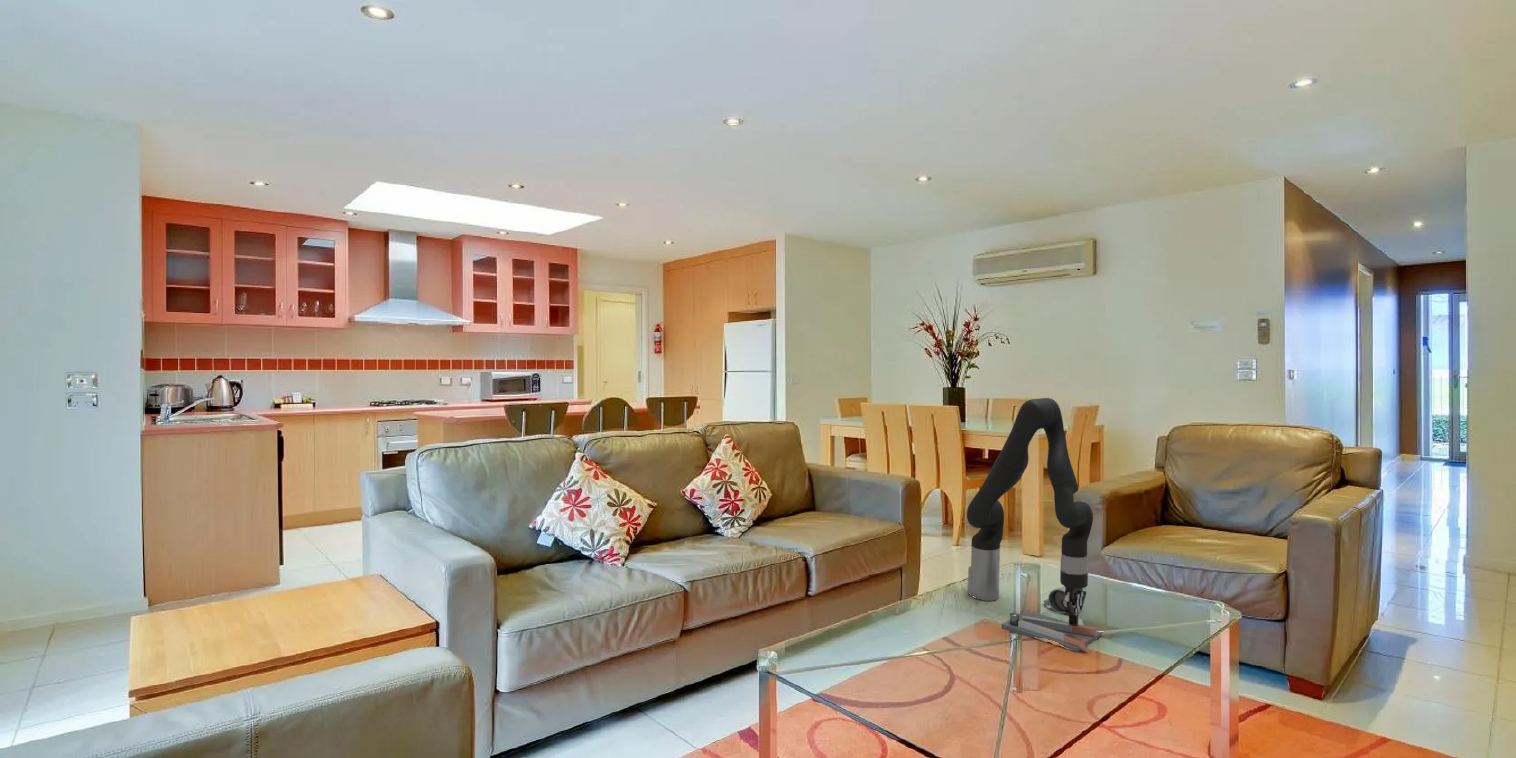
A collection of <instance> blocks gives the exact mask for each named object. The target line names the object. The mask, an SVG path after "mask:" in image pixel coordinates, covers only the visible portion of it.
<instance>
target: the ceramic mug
mask: <svg viewBox="0 0 1516 758" xmlns="http://www.w3.org/2000/svg"><path fill="white" fill-rule="evenodd" d="M1065 589H1066V587H1065V586H1062V587H1058V588H1055V589H1053V590H1051V591H1050V593H1049V594H1048V598H1047V599H1044V600H1043V604H1044V606H1047V607H1048V606H1050V608H1051V609H1052V610H1053V611H1055V612H1056V613H1058V614H1066V613H1065V611H1064V609H1063V607H1062V604H1061V600H1062V599H1063V600H1064V599H1065Z"/></svg>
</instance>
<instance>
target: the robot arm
mask: <svg viewBox="0 0 1516 758" xmlns="http://www.w3.org/2000/svg"><path fill="white" fill-rule="evenodd" d="M1064 427H1065V426H1064V421H1063V415H1062V411H1061V408H1060V405H1059V404H1058V402H1057V401H1055V400H1054V399H1053V398H1049V397H1045V398H1044V397H1043V398H1042V397H1041V398H1031V399H1028V400H1025V402H1024V403H1022V405H1021V406H1020V408H1019V410H1018V412H1017V414H1016V417H1015V420H1014V423H1013V426H1012V428H1011V431H1010V432H1009V435H1008V437H1007V438H1006V439H1005V442H1004V444H1003V447H1002V448H1001V450H1000V452H999V454H998V455H997V457H996V459H995V461H994V462H993V465H992V466H991V469H990V471H989V473H988V474H987V476H986V478H985V480H984V481H983V483H982V485H981V487H980V488H979V489H978V492H977V493H976V494H975V496H974V497H973V498H972V500H971V501H970V503H969V504H968V507H967V509H966V519H967V522H968V524H969V525H970V526H971V527H973V528H976V529H979V530H978V532H977V533H976V534H974V535H973V536H972V537H971V548H970V549H971V550H970V552H971V553H970V554H971V557H970V560H971V562H970V566H969V567H968V573H967V576H968V577H967V594H968V593H970V594H971V595H972V596H974V597H976V598H978V599H977V600H979V599H981V600H980V601H986V602H991V601H996V600H998V599H999V597H1000V595H999V594H1000V566H1001V565H1000V563H1001V562H1000V561H1001V559H1000V556H1001V543H1002V540H1003V536H1004V524H1005V513H1004V512H1005V511H1004V507H1003V505H1002V503H1001V502H1000V501H999V499H1001V497H1002V496H1003V495H1005V494H1007V492H1008V491H1010V490H1011V489H1012V488H1013V487H1015V485H1017V483H1018V482H1019V481H1020V480H1021V478H1022V476H1023V474H1024V472H1025V471H1026V469H1027V467H1028V465H1029V459H1030V458H1029V445H1030V443H1031V441H1032V439H1033V437H1034V436H1035V435H1036V433H1037V432H1038V431H1039V430H1041V429H1043V432H1045V435H1046V438H1047V443H1048V444H1047V445H1048V449H1047V461H1046V466H1047V467H1046V468H1047V469H1046V470H1047V474H1048V477H1049V480H1050V484H1051V486H1052V490H1053V493H1054V494H1053V497H1054V498H1053V499H1054V500H1053V502H1054V512H1055V517H1056V519H1057V520H1058V522H1059V524H1060V525H1061V526H1063V527H1064V528H1065V529H1069V530H1068V531H1067V532H1065V534H1063V535H1062V537H1061V555H1060V567H1059V568H1060V570H1059V571H1060V574H1059V575H1060V576H1059V577H1060V578H1059V579H1060V580H1059V581H1060V584H1061V585H1062V586H1063V587H1066V589H1065V599H1064V600H1063V599H1062V600H1061V604H1062V607H1063V609H1064V611H1065V613H1064V614H1068V623H1070V624H1078V625H1079V615H1080V613H1081V611H1082V610H1083V607H1084V603H1085V600H1086V596H1087V590H1084V589H1085V588H1087V587H1088V586H1089V585H1088V584H1089V583H1088V582H1089V562H1088V561H1089V560H1088V540H1089V537H1090V534H1091V530H1092V527H1093V522H1094V513H1093V510H1092V508H1091V506H1090V505H1089V503H1087V502H1085V501H1075V500H1074V494H1076V493H1077V492H1078V491H1079V484H1078V482H1077V478H1076V475H1075V471H1074V468H1073V466H1072V462H1071V460H1070V455H1069V451H1068V446H1067V440H1066V433H1065V428H1064ZM971 595H970V596H971ZM972 596H971V597H972ZM976 598H975V599H976Z"/></svg>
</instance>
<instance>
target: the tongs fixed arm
mask: <svg viewBox="0 0 1516 758" xmlns="http://www.w3.org/2000/svg"><path fill="white" fill-rule="evenodd" d="M1019 618H1020V613H1017V612H1010V613H1009V620H1010V624H1011V625H1013V626H1018V628H1020V629H1023V630H1026V631H1030V632H1033V633H1036V634H1039V635H1042V636H1045V637H1048V638H1051V639H1055V640H1058V641H1061V642H1064V643H1067V644H1070V645H1073V646H1076V647H1079V648H1082V650H1086V649H1087V648H1088V646H1089V645H1088V640H1085V639H1082V638H1079V637H1076V636H1073V635H1069V634H1065V633H1061V632H1058V631H1055V630H1052V629H1049V628H1045V627H1042V626H1039V625H1036V624H1032V623H1029V622H1026V621H1023V620H1020V621H1019Z"/></svg>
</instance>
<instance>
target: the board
mask: <svg viewBox="0 0 1516 758" xmlns="http://www.w3.org/2000/svg"><path fill="white" fill-rule="evenodd" d="M1019 615H1020V618H1019V621H1020V620H1022V617H1023V616H1027V617H1033V618H1039V619H1045V620H1051V621H1058V622H1064V623H1069V621H1068V622H1067V621H1065V620H1061V619H1057V618H1053V617H1051V616H1047V615H1044V614H1041V613H1038V612H1037V613H1036V612H1035V611H1034V612H1033V611H1030V610H1026V611H1024V612H1022V613H1019ZM1001 629H1004V630H1007V631H1010V632H1012V633H1015V634H1016V633H1017V634H1019V635H1022V636H1025V637H1028V638H1031V637H1037V638H1046V639H1048V640H1052V641H1055V642H1058V643H1059V644H1061V645H1063V646H1064V647H1066V648H1069V649H1071V650H1072V651H1071V650H1070V651H1071V652H1075V653H1079V652H1080V651H1081V649H1082V648H1079V647H1076V646H1073V645H1070V644H1067V643H1064V642H1061V641H1058V640H1055V639H1051V638H1048V637H1045V636H1042V635H1039V634H1036V633H1033V632H1030V631H1026V630H1023V629H1020V628H1018V626H1013V625H1011V624H1010V619H1009V620H1006V621H1005V622H1003V623H1001ZM1052 630H1054V629H1052ZM1055 631H1058V632H1061V633H1065V634H1069V635H1073V636H1076V637H1079V638H1082V639H1085V640H1088V646H1090V644H1092V643H1094V642H1095V641H1096V640H1097V639H1096V638H1098V637H1099V636H1100V635H1101V636H1102V632H1101V631H1098V630H1095V637H1094V636H1088V635H1082V634H1076V633H1072V632H1066V631H1060V630H1055ZM1099 638H1100V637H1099ZM1099 638H1098V639H1099ZM1095 639H1096V640H1095ZM1094 640H1095V641H1094ZM1093 641H1094V642H1093ZM1082 650H1083V649H1082Z"/></svg>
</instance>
